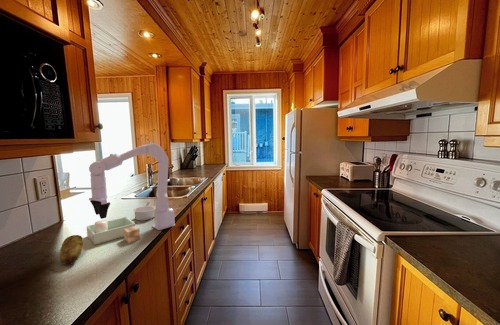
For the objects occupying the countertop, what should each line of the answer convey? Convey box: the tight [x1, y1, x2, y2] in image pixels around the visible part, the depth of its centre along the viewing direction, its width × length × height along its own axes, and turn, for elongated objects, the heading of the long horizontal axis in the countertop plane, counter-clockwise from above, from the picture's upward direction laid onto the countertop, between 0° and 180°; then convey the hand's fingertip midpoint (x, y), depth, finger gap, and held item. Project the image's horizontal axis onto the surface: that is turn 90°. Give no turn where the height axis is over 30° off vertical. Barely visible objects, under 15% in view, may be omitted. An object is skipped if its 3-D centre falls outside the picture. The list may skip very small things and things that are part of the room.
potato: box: [59, 234, 84, 266], centre depth 87 cm, size 8×13×8 cm, turn 13°
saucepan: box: [133, 201, 156, 221], centre depth 136 cm, size 12×20×6 cm, turn 16°
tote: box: [86, 216, 136, 246], centre depth 109 cm, size 17×13×5 cm
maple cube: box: [123, 225, 141, 243], centre depth 104 cm, size 5×5×5 cm
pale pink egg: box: [94, 219, 108, 233], centre depth 106 cm, size 5×5×7 cm
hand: (101, 216), depth 105 cm, fingers open, 7 cm apart
